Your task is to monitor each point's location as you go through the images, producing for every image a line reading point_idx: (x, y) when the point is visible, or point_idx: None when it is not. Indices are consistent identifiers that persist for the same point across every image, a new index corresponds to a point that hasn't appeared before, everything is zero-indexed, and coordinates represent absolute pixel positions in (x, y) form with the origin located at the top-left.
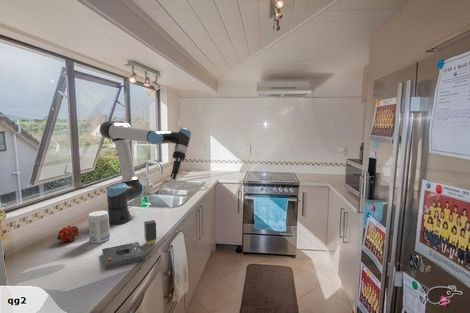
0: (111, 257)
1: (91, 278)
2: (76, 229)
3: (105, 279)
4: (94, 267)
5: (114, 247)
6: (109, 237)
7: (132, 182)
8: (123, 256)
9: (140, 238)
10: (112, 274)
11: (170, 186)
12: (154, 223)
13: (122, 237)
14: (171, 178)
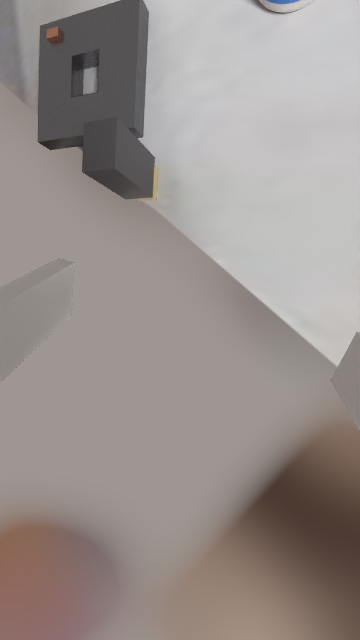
0: (67, 39)
1: (32, 9)
2: None
3: (14, 47)
4: (78, 4)
5: (130, 39)
6: (274, 8)
7: None
8: (56, 76)
9: (210, 153)
10: (25, 62)
11: (347, 368)
12: (84, 166)
13: (267, 75)
14: (11, 283)
